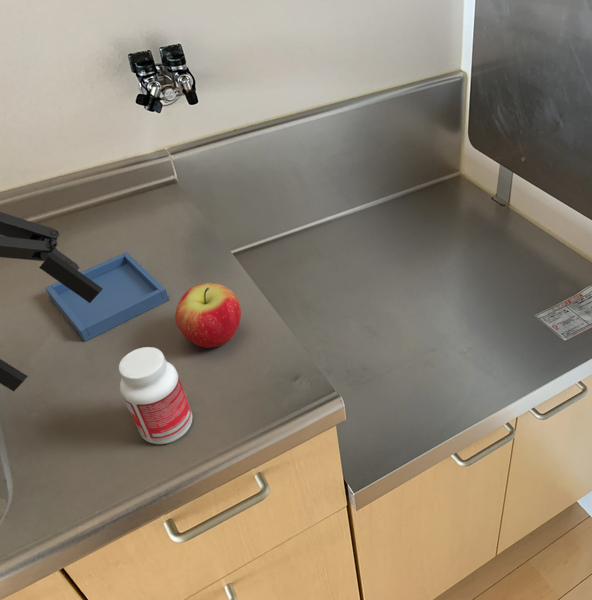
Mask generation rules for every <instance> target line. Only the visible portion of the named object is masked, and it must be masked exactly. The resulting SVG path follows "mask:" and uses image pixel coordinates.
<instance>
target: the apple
mask: <svg viewBox="0 0 592 600" xmlns="http://www.w3.org/2000/svg"><path fill="white" fill-rule="evenodd" d="M174 316H175V317H174V318H175V324H176V326H177V328H178V330H179V331H180V333H181V334H182V336H184V337H185V338H186V339H187V340H188V341H189V342H191V343H193V344H194V345H196V346H197V347H201V348H204V349H205V348H206V349H211V348H217V347H220V346H223V345H225V344H227V343H229V342H230V341H231V339H232V338H233V337H235V335H236V333H237V331H238V330H239V329H238V328H239V326H240V323H241V319H242V309H241V304H240V300H239V299H238V296H236V293H234V292H233V291H232V290H231V289H230V288H228V287H227V286H226V285H223V284H220V283H217V282H204V283H200V284H197V285H194V286H192V287H190V288H189V289H188V290H187V291H185V292H184V294H183V295H182V296H181V298H180V300H179V301H178V303H177V306H176V309H175V314H174Z"/></svg>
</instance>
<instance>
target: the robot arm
mask: <svg viewBox="0 0 592 600" xmlns="http://www.w3.org/2000/svg"><path fill="white" fill-rule="evenodd" d="M59 236H60V232H59V231H58V230H57V229H55V228H53V227H49V226H47V225H43V224H40V223H36V222H34V221H31V220H27V219H24V218H20V217H18V216H14V215H12V214H9V213H5V212H2V211H0V258H3V259H4V258H5V259H16V260H25V261H26V260H27V261H38V262H42V263H41V265H39V269H40V270H41V271H43V272H44V273H45V274H47V275H48V276H50V277H52V278H53V279H55V280H56V282H60V283H62V284H63V285H65V286H66V287H67V288H69V289H70V290H72V291H73V292H75V293H76V294H77V295H79V296H80V297H82V298H83V299H85V300H86V301H87V302H89V303H91V302H92V300H93V299H94V298H95V297H96V296H97V295H98V294H99V293H100V292H101V291H102V289H103V288H101V287H100V286H99V285H97V284H96V283H94V282H93V281H92V280H90V279H89V278H87V277H86V276H85V275H83V274H82V273H80V272H81V271H79V270H80V266H79V265H78V263H76V262H75V261H73V259H70V257H68V256H66V255H65V254H64V253H62V252H61V251H59V250H58V249H57V247H58V244H59V243H58V241H57V240H58V238H59ZM28 377H29V375H27V374H25V372H22V371H21V370H19V369H17V368H15V367H14V366H13V365H11V364H9V363H8V362H6V361H4V360H3V359H1V358H0V385H2V386H3V387H5V388H7V389H9V390H10V391H12V392H15V391H16V390H17V389H18V388H19V387H20V386H21V385H22V384H23V383H24V381H26V379H27V378H28Z"/></svg>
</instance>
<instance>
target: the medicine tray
mask: <svg viewBox="0 0 592 600" xmlns="http://www.w3.org/2000/svg"><path fill="white" fill-rule="evenodd" d="M79 272H80V273H82V274H83V275H85V276H86V277H87V278H89V279H90V280H92V281H93V282H94V283H96V284H97V285H99V286H100V287H101V288H103V289H102V291H101V292H100V293H99V294H98V295H97V296H96V297H95V298H94V299H93V300H92V302H91V303H89V302H87V301H86V300H85V299H83V298H82V297H80V296H79V295H77V294H76V293H75V292H73V291H72V290H70V289H69V288H67V287H66V286H65V285H63V284H62V283H60V282H59V281H56V282H54V283H52V284H50V285H47V286H45V287H44V288H45V291H46V293H47V295H48V297H49V299H50V300H51V301H52V303H53V304H54V305H55V306H56V307H57V309H58V310H59V312H61V314H62V315H63V316H64V318H65V319H66V321H68V323H69V324H70V325H71V326H72V327H73V329H74V330H75V331H76V332H77V333H78V335H79V336H80V337H81V339H82V340H83V341H84V342H88V341H89V340H92V339H94V338H96V337H97V336H100V335H101V334H103V333H106V332H108V331H109V330H112V329H114V328H116V327H118V326H119V325H121V324H123V323H126V322H128V321H130V320H131V319H134V318H136V317H138V316H140V315H142V314H144V313H146V312H148V311H149V310H152V309H154V308H157V307H158V306H159V305H162V304H164V303H166V302H168V301H170V298H169V295H168V292H167V289H166V288H165V287H164V286H163V285H162V284H161V283H160V282H159V281H158V280H157V279H156V278H155V277H154V276H153V275H151V274H150V272H149V271H147V270H146V269H145V268H144V267H143V266H142V265H141V263H139V262H138V261H137V259H135V258H134V257H133V256H132V255H131V254H130V253H129V252H128V251H126V252H123V253H120V254H119V255H117V256H114V257H112V258H109V259H107V260H105V261H103V262H101V263H98V264H96V265H94V266H91V267H89V268H87V269H84V270H82V271H79Z"/></svg>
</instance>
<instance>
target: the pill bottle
mask: <svg viewBox="0 0 592 600" xmlns="http://www.w3.org/2000/svg"><path fill="white" fill-rule="evenodd" d="M118 371H119V374H120V376H121V377H120V378H121V379H120V383H119V391H120V394H121V397H122V399H123V401H124V403H125V404H126V407H127V409H128V411H129V413H130V416H131V418H132V420H133V422H134V424H135V427H136V429H137V430H138V433H139V434H140V436H141V438H142V439H143V440H145V441H146V442H148V443H150V444H154V445H167V444H170V443H173V442H175V441H178V440H179V439H180V438H182V437H183V436H184V435H185V434H186V433H187V432H188V431H189V429H190V427H191V426H192V423H193V413H192V410H191V409H192V408H191V406H190V403H189V400H188V398H187V395H186V392H185V390H184V387H183V384H182V382H181V379H180V375H179V373H178V371H177V369H176V367H175V366H174V365H173V364H172V363H170V362H168V360H166V357H165V355H164V353H163V352H162V351H161V350H160V349H159V348H157V347H152V346H145V347H144V346H143V347H140V348H139V347H138V348H136V349H134V350H131V351H130V352H129V353H127V354H125V356H124V357H122V359H121V360H120V362H119V364H118Z"/></svg>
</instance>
